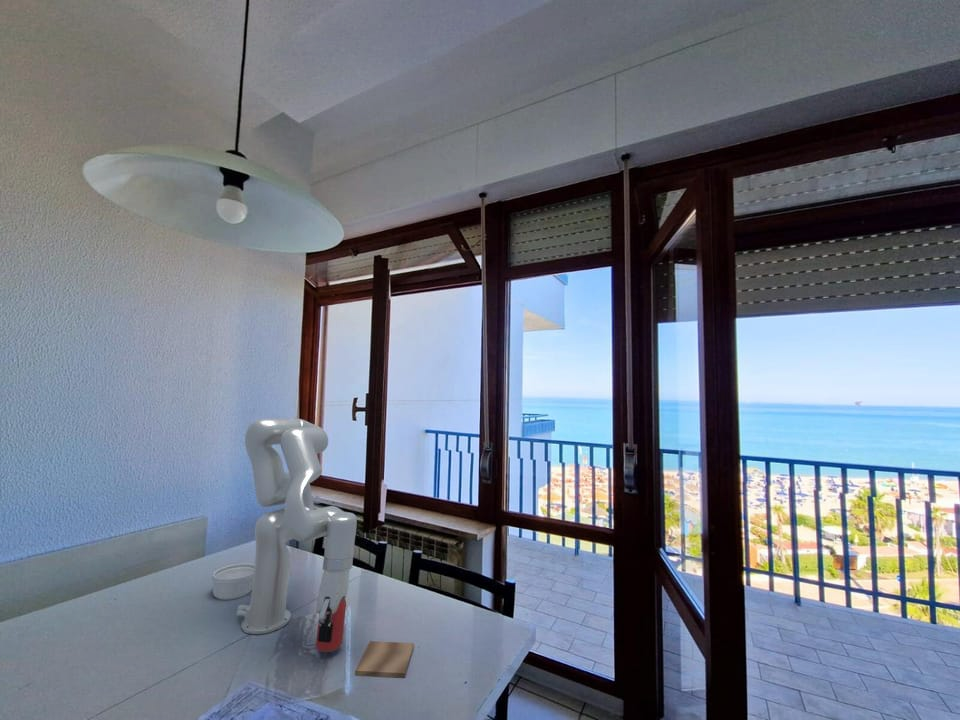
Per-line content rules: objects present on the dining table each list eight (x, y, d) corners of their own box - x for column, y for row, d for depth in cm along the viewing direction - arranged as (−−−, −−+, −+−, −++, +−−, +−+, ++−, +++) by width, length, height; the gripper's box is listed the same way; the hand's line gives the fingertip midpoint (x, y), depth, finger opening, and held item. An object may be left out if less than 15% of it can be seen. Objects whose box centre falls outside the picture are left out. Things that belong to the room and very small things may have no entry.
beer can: (332, 656, 96) (338, 605, 98) (309, 650, 97) (315, 600, 99) (346, 640, 103) (351, 593, 104) (325, 636, 104) (330, 589, 105)
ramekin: (263, 591, 131) (266, 569, 132) (221, 606, 120) (224, 582, 121) (244, 580, 138) (246, 560, 139) (202, 594, 127) (205, 572, 128)
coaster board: (354, 675, 91) (355, 670, 91) (369, 644, 103) (370, 641, 103) (404, 677, 91) (404, 673, 91) (413, 647, 103) (413, 643, 103)
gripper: (336, 548, 111) (329, 614, 109) (309, 574, 94) (300, 652, 92) (362, 550, 111) (355, 616, 109) (339, 576, 94) (331, 655, 92)
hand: (330, 632), depth 100 cm, fingers closed on beer can, 6 cm apart
